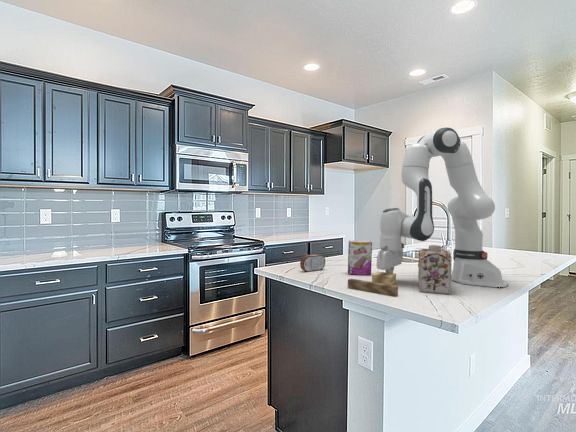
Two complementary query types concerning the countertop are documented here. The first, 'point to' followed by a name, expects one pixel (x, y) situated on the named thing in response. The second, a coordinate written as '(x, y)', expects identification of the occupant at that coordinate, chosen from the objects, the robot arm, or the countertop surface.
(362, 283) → the walnut board
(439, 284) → the decorative jar
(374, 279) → the oak block
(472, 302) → the countertop surface
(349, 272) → the candy bar box
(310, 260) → the tin
